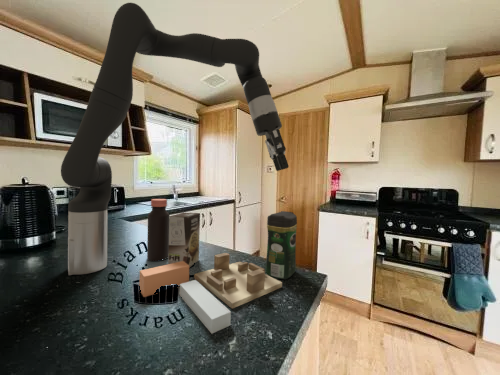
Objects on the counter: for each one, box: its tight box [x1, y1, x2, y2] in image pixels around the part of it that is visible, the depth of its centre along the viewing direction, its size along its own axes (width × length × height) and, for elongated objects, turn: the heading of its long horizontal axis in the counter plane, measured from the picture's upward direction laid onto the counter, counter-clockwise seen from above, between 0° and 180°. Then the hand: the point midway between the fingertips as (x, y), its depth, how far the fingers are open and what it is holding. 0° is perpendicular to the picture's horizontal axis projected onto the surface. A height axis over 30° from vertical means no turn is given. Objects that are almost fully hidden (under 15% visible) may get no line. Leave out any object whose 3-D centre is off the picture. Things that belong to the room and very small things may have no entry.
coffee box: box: [167, 212, 201, 269], centre depth 71 cm, size 9×6×16 cm
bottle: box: [146, 198, 171, 262], centre depth 75 cm, size 7×7×20 cm
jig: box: [193, 252, 283, 310], centre depth 59 cm, size 16×18×5 cm
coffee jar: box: [265, 210, 298, 280], centre depth 66 cm, size 10×8×19 cm
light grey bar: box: [179, 279, 232, 334], centre depth 47 cm, size 4×16×3 cm, turn 38°
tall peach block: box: [138, 261, 190, 298], centre depth 56 cm, size 11×4×5 cm, turn 130°
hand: (282, 169), depth 64 cm, fingers open, 8 cm apart
